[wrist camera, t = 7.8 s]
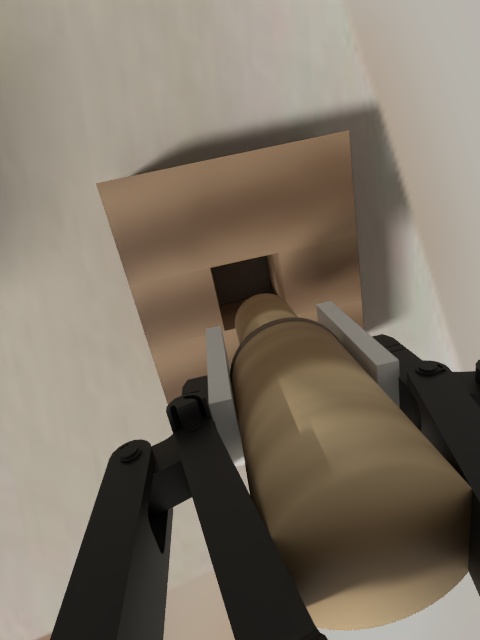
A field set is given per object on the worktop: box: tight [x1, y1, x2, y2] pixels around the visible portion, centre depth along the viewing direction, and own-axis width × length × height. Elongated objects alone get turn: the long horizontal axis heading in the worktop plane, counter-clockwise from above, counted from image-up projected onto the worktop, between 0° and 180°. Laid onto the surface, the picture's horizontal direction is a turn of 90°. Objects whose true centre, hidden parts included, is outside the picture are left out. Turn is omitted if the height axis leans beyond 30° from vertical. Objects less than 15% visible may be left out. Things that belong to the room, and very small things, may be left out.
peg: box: [230, 293, 472, 630], centre depth 14 cm, size 5×5×14 cm
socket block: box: [96, 130, 364, 405], centre depth 28 cm, size 18×16×6 cm
